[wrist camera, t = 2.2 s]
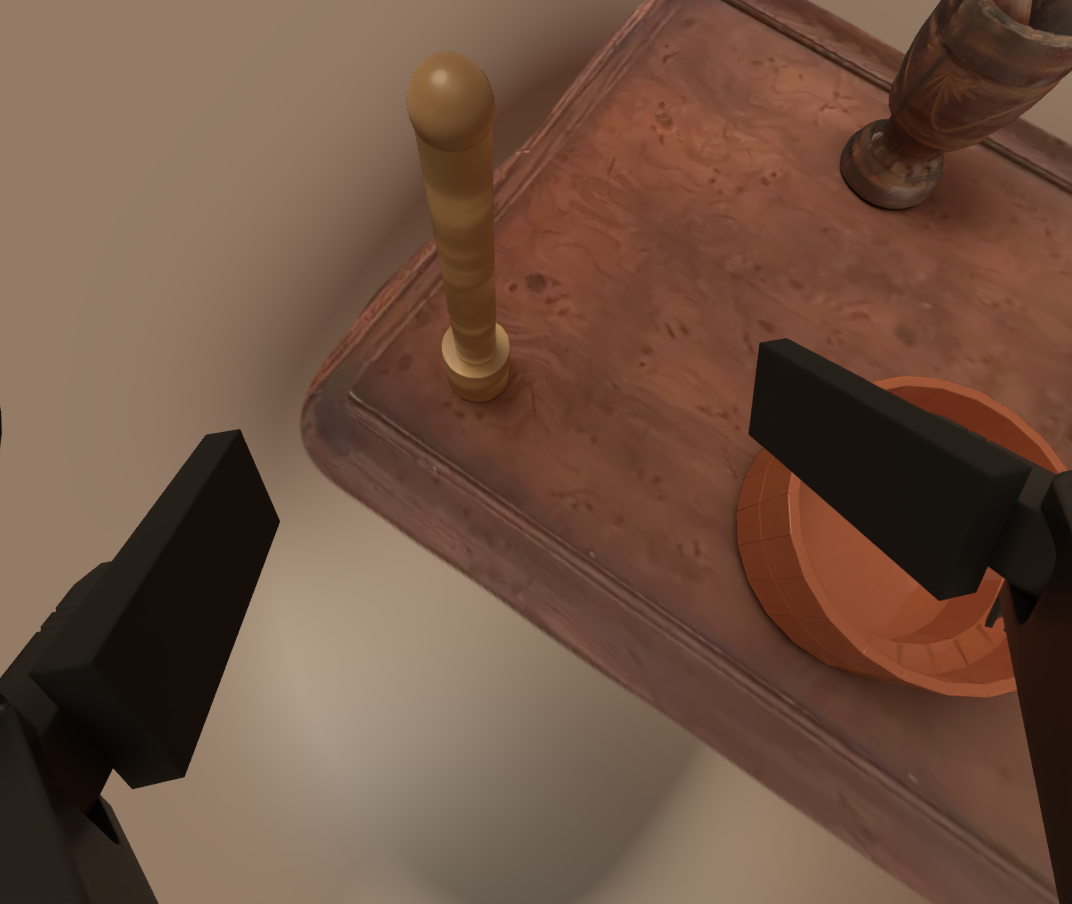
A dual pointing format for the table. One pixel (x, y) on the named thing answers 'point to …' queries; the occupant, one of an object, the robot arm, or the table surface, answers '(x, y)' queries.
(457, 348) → the muddler
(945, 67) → the mortar and pestle
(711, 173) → the table surface
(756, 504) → the mixing bowl
